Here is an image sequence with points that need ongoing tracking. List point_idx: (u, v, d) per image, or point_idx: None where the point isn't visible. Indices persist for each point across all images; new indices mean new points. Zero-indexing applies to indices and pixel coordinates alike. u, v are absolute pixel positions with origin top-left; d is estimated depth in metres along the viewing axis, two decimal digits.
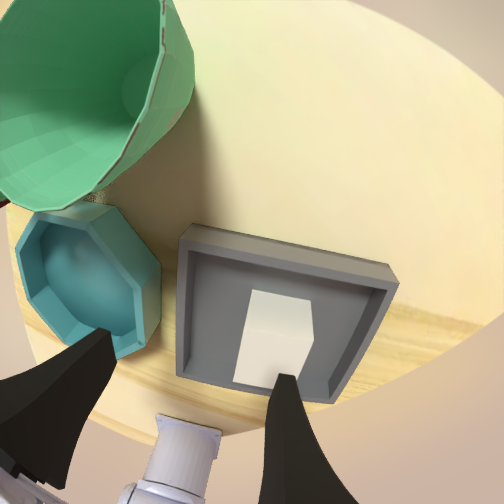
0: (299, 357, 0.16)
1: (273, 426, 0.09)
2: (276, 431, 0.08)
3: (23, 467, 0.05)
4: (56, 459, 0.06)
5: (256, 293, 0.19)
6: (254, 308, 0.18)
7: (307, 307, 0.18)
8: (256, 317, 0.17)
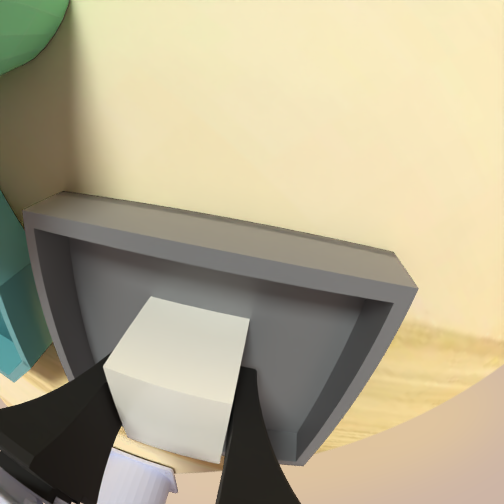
0: (214, 425, 0.08)
1: (230, 419, 0.09)
2: (231, 424, 0.08)
3: (59, 491, 0.05)
4: (90, 477, 0.06)
5: (153, 304, 0.11)
6: (138, 330, 0.09)
7: (239, 332, 0.10)
8: (133, 348, 0.08)
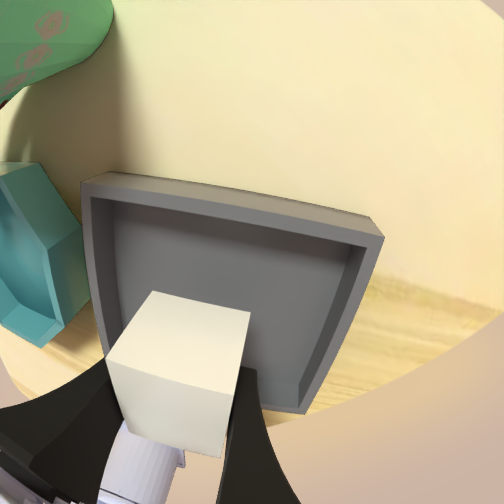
0: (215, 417, 0.08)
1: (231, 419, 0.09)
2: (231, 424, 0.08)
3: (59, 491, 0.05)
4: (90, 477, 0.06)
5: (155, 298, 0.11)
6: (141, 323, 0.09)
7: (240, 325, 0.10)
8: (135, 340, 0.09)
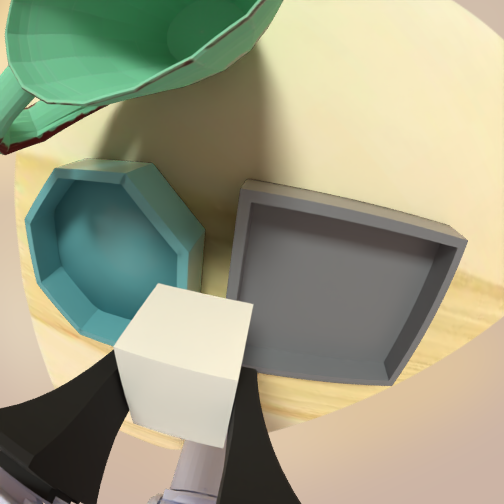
0: (219, 405, 0.09)
1: (231, 419, 0.09)
2: (231, 424, 0.08)
3: (59, 490, 0.05)
4: (90, 477, 0.06)
5: (161, 290, 0.11)
6: (147, 313, 0.10)
7: (244, 316, 0.11)
8: (142, 329, 0.09)
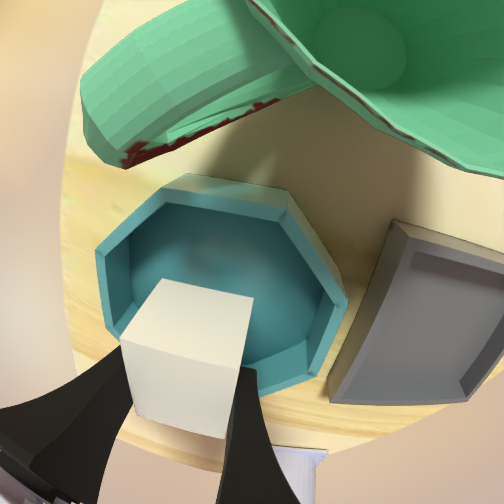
0: (221, 394, 0.09)
1: (230, 419, 0.09)
2: (231, 424, 0.08)
3: (59, 491, 0.05)
4: (90, 477, 0.06)
5: (165, 284, 0.12)
6: (152, 306, 0.10)
7: (244, 309, 0.11)
8: (147, 322, 0.09)
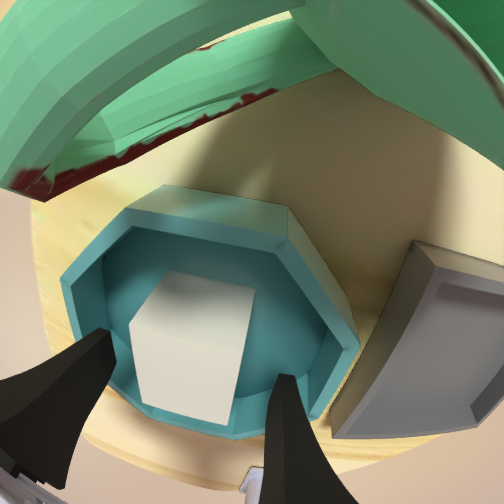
0: (225, 378, 0.10)
1: (273, 426, 0.09)
2: (276, 431, 0.08)
3: (23, 467, 0.05)
4: (56, 459, 0.06)
5: (171, 275, 0.12)
6: (159, 295, 0.11)
7: (247, 298, 0.12)
8: (155, 309, 0.10)
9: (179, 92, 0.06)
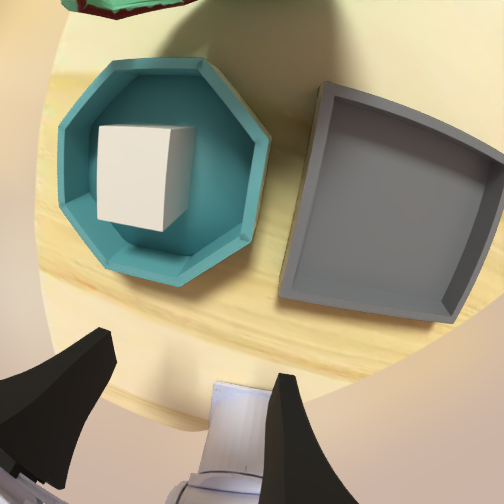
0: (159, 161, 0.12)
1: (273, 426, 0.09)
2: (276, 431, 0.08)
3: (23, 467, 0.05)
4: (56, 459, 0.06)
5: (137, 123, 0.15)
6: (125, 124, 0.14)
7: (187, 127, 0.14)
8: (120, 124, 0.13)
9: None
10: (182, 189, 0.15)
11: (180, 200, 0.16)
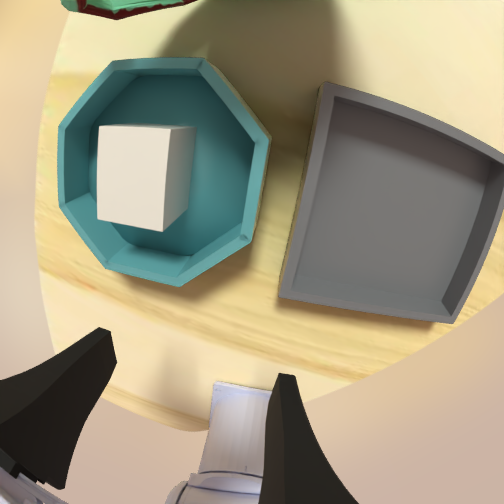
0: (158, 161, 0.12)
1: (273, 426, 0.09)
2: (276, 431, 0.08)
3: (23, 467, 0.05)
4: (56, 459, 0.06)
5: (137, 123, 0.15)
6: (125, 124, 0.14)
7: (187, 127, 0.14)
8: (120, 124, 0.13)
9: None
10: (182, 189, 0.15)
11: (180, 200, 0.16)
